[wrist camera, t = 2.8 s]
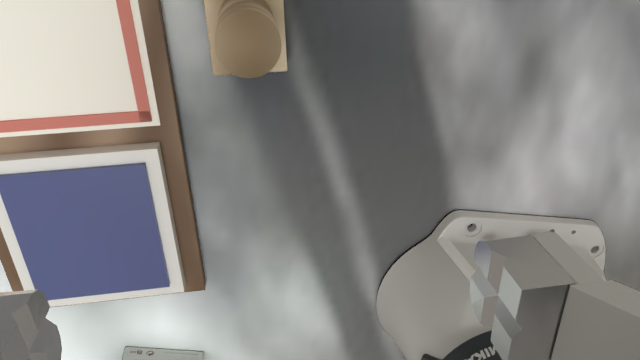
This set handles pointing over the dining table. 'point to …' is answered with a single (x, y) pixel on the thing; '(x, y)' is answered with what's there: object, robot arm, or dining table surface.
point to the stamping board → (164, 134)
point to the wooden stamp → (246, 37)
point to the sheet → (73, 67)
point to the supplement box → (160, 354)
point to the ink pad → (90, 223)
